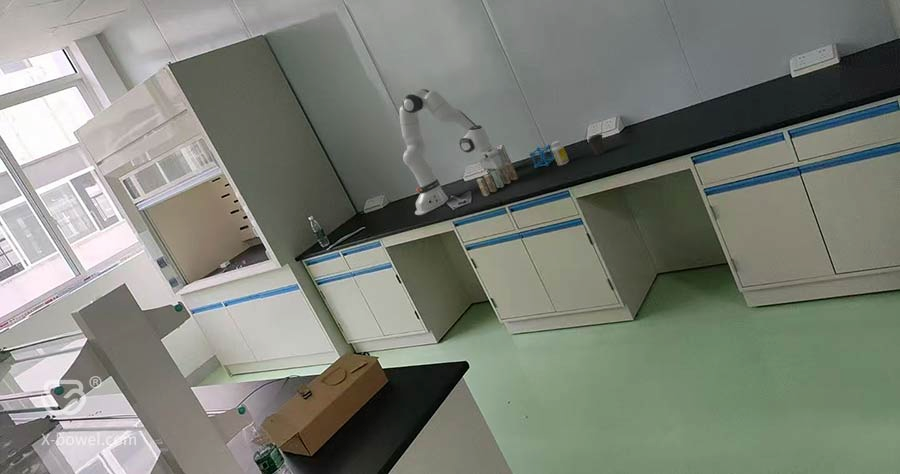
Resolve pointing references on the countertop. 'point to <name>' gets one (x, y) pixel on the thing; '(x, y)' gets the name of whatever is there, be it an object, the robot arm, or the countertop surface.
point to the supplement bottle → (559, 153)
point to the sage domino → (497, 179)
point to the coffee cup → (597, 144)
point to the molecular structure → (542, 156)
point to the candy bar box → (503, 155)
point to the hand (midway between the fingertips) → (495, 175)
